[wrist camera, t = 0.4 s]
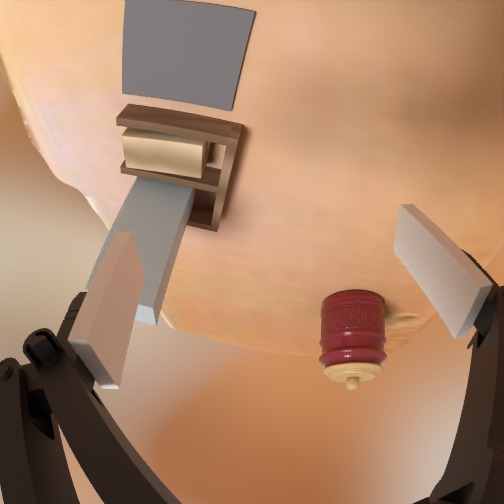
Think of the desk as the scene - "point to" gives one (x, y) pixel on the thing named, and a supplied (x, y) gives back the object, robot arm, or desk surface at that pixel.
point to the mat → (184, 50)
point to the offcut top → (164, 152)
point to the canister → (352, 337)
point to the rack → (195, 129)
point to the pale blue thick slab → (152, 236)
